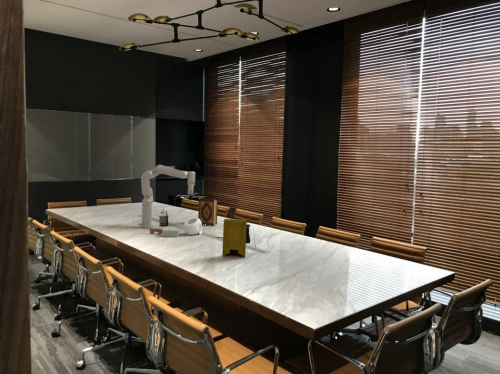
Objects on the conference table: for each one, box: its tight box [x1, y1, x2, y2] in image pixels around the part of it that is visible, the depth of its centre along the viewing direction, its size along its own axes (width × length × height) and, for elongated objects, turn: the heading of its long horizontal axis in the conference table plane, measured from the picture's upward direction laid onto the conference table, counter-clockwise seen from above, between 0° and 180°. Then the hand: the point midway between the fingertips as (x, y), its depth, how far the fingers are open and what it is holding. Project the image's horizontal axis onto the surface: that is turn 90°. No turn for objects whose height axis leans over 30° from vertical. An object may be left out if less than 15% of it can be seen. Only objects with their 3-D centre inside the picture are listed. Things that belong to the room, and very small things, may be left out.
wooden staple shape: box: [148, 227, 164, 235], centre depth 374 cm, size 12×5×5 cm, turn 95°
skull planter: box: [183, 216, 203, 236], centre depth 382 cm, size 14×20×19 cm
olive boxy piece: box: [216, 218, 256, 258], centre depth 307 cm, size 31×14×30 cm, turn 92°
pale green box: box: [162, 227, 180, 238], centre depth 369 cm, size 14×10×7 cm
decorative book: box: [197, 197, 219, 226], centre depth 437 cm, size 22×8×30 cm, turn 62°
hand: (190, 199), depth 407 cm, fingers open, 9 cm apart
